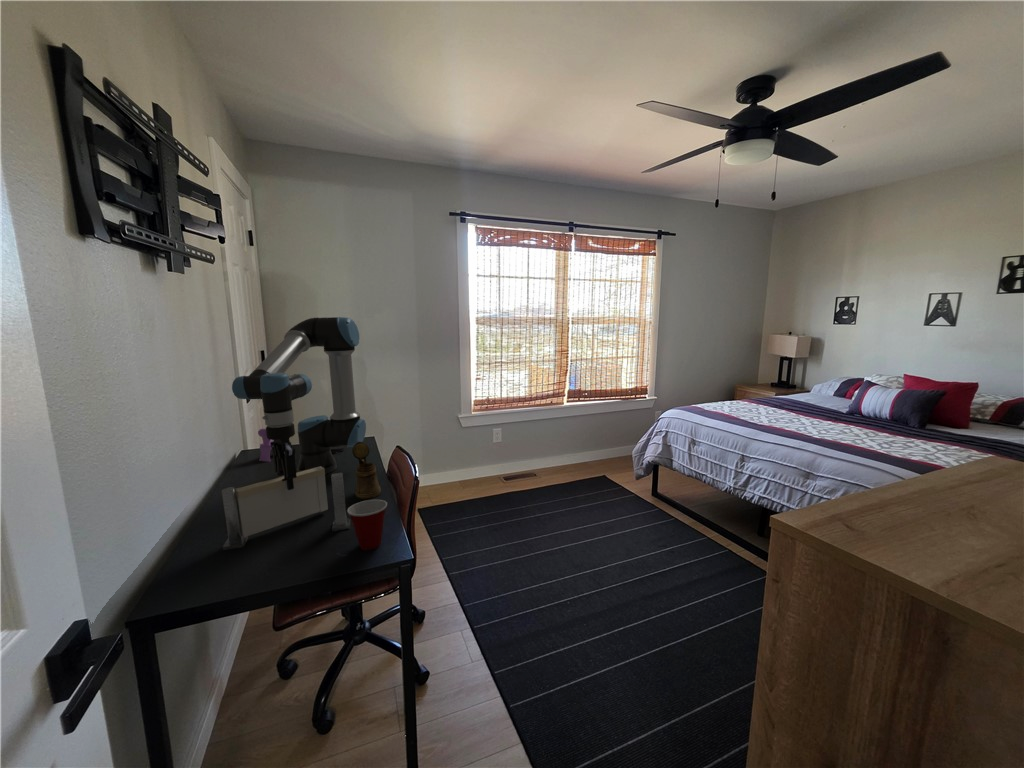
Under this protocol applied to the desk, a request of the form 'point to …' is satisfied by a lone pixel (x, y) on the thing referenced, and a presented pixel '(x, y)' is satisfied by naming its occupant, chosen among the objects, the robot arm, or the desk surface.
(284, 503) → the gate
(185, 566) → the desk surface
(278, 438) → the robot arm
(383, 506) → the plastic cup
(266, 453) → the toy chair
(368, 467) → the brown disc-topped figurine
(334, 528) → the gate frame
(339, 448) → the media streaming box
